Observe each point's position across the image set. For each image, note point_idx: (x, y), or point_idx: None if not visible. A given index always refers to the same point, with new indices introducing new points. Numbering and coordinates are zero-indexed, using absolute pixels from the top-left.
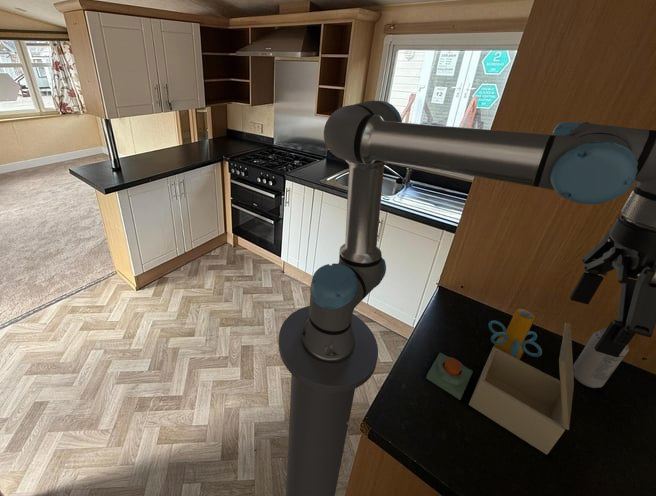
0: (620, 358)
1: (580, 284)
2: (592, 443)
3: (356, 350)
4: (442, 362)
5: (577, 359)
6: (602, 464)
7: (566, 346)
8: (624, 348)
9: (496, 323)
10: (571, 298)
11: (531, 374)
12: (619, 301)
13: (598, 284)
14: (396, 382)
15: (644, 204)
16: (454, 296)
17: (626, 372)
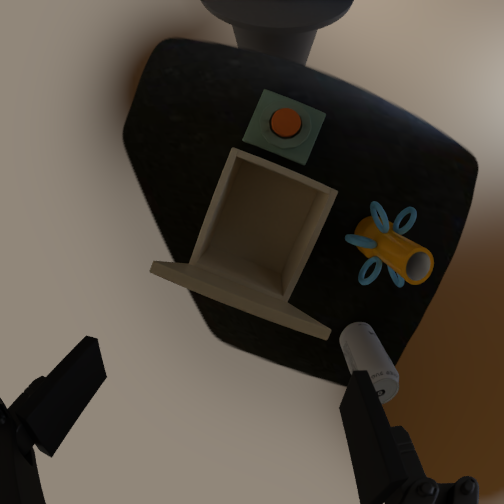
0: None
1: (374, 434)
2: None
3: (275, 2)
4: (291, 108)
5: (371, 333)
6: (222, 306)
7: (214, 298)
8: None
9: (410, 218)
10: (356, 375)
11: (300, 251)
12: (17, 484)
13: (358, 480)
14: (236, 53)
15: None
16: (474, 179)
17: None
